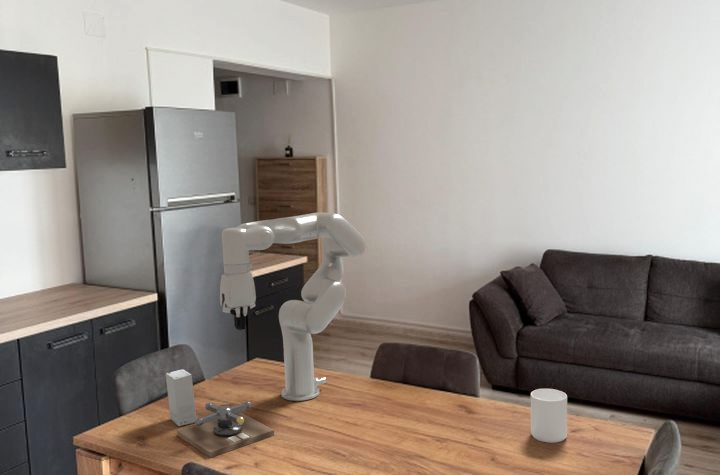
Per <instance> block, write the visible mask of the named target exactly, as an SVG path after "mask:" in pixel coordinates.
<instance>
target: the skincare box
mask: <svg viewBox="0 0 720 475" xmlns="http://www.w3.org/2000/svg"><path fill="white" fill-rule="evenodd" d="M165 379H166V380H165V381H166V389H167V398H168V407H169V408H168V409H169V418H170V420H171V421H172V422H173V423H174V424H175V425H177V426H178V427H183V426H186V425H191V424H195V421H196V419H197V412H196V403H195V394H194V385H193V384H194V383H193V375H192V373H190V372H188V371H186V370H185V369H177V370H173V371H170V372H166V373H165Z"/></svg>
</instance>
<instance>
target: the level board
mask: <svg viewBox="0 0 720 475" xmlns="http://www.w3.org/2000/svg"><path fill="white" fill-rule="evenodd" d="M234 414H236V415H238V416H240V417H243V418H244V423H243V424H242V431H241V432H240V433H239V434H236V435H233V436H228V437H221V436H217V435H215V434H214V430H213V428H214V426H215V425H217V424H218V422H217V420H214V421H211V422H208V423H205V424H202V425H201V426H197V425H196V424H195V423H194V424H193V425H189V426H187V427H183V428H180V429H177V430H176V435H177V437H179V438H181V439H182V440H184V441H185V442H187V444H189V445H190V446H192V447H194V448H195V449H197V450H199V451H200V452H201V453H203V454H204V455H206V456H208V457H209V458H214V457H217V456H219V455H222V454H225V453H228V452H231V451H233V450H236V449H239V448H241V447H245V446H247V445H250V444H254V443H255V442H259V441H261V440H264V439H267V438H270V437H273V436H275V430H274V429H273V428H271V427H269V426H267V425H265V424H263V423H262V422H260V421H258V420H256V419H254V418H252V417H251V416H248V415H246V414H244V413H243V412H241V411H239V412H237V413H234Z"/></svg>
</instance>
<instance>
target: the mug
mask: <svg viewBox="0 0 720 475" xmlns="http://www.w3.org/2000/svg"><path fill="white" fill-rule="evenodd" d="M530 434H531V436H532V437H533V438H534V439H535V440H537V441H539V442H543V443H547V444H555V443H556V444H557V443H560V442H562V441H564V440H565V439H566V438H567V435H568V395H567V394H566V392H563V391H562V390H558V389H553V388H537V389H535V390H533V391H531V392H530Z"/></svg>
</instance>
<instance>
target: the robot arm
mask: <svg viewBox="0 0 720 475" xmlns="http://www.w3.org/2000/svg"><path fill="white" fill-rule="evenodd" d="M317 239H322V242H321V248H322V249H321V250H322V259H321V260H322V261H321V264H320V266H318V268H317V269H316V271H315V272H314V273H313V274H312V276H310V278H309V279H308V280H307V281H306V282H305V284H304V286H303V287H302V288H301V292H300V293H301V294H300V295H301V298H302V300H298V299H290V300H287V301H285V302H283V304H282V305H281V306H280V308H279V311H278V321H279V325H280V329H281V334H282V343H283V360H284V361H283V363H284V379H285V380H284V382H285V388H283V389H282V390H281V395H280V396H281V398H282V399H284V400H287V401H291V402H292V401H295V402H300V401H302V402H303V401H308V400H311V399H314V398H316V397H318V396H319V394H320V388H319V386H320V385H322V384H325V383H327V379H326V377H320V378H319V377H317V376H316V377H315V371H314V370H315V368H314V348H313V345H314V344H313V338H312V335H317V334H319V333H322V332H323V331H324V330H325V329H326V328H327V327H328V325H329V324H330V323H331V322H332V320H333V319H334V318H335V316H336V315H337V314H338V312H339V311H341V309H342V307H343V305H344V304H345V301H346V298H347V290H346V287H345V285H344V284H343V283H342V282H341V280H342V278H343V277H344V272H345V270H344V268H345V267H344V262H343V258H347V259H357V258H360V257H361V256H363V254H364V252H365V251H366V241H365V238H364V236H363V235H362V233H360V232H359V231H358V229H357V228H355V227H354V226H353V225H352V224H351V223H350V222H349V221H348V220H347V219H346V218H344V216H342V215H340V214H339V213H334V212H312V213H306V214H301V215H294V216H287V217H280V218H279V217H278V218H274V219H265V220H257V221H251V222H250V221H249V222H246V223H241V224H240V225H238V226H236V227H229V228H225V229H223V230H222V232H221V242H222V258H223V259H222V260H223V272H224V273H223V274H222V275H221V276H220V284H219V289H220V290H219V303H220V306H221V307H222V312H223V313H225V314H230V315H231V316H233V318H234V319H233V321H234V327H235V329H236V330H238V331H243V330H246V325H247V321H246V316H247V315H248V312H249V311H250V310H251V309H253V308H255V307H256V300H257V295H256V285H255V281H254V276H253V274H252V272H251V268H253V267H254V264H253V263H252V262H250V256H249V255H250V252H249V251H263V250H266V249H269V248H270V247H271V246H272V245H273V244H285V245H286V244H287V245H288V244H296V243H302V242H305V241H311V240H317ZM311 334H312V335H311Z"/></svg>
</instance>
